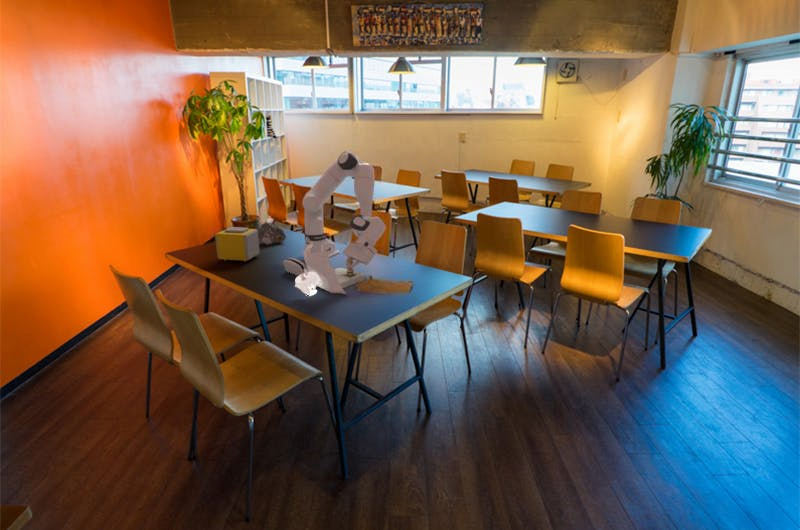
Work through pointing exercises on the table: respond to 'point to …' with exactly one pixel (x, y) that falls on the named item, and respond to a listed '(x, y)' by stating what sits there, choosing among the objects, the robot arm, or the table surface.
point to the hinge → (294, 266)
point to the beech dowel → (349, 269)
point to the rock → (270, 233)
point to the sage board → (346, 280)
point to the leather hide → (384, 286)
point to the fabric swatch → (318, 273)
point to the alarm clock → (237, 243)
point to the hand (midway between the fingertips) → (348, 266)
